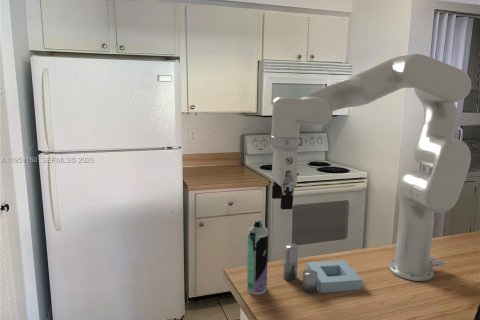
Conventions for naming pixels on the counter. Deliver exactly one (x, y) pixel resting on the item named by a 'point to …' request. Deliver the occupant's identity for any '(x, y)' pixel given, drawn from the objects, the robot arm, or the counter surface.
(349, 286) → the collar block
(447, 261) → the counter surface
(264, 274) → the spray can
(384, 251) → the counter surface
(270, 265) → the counter surface
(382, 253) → the counter surface
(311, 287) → the short pin
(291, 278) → the long pin
